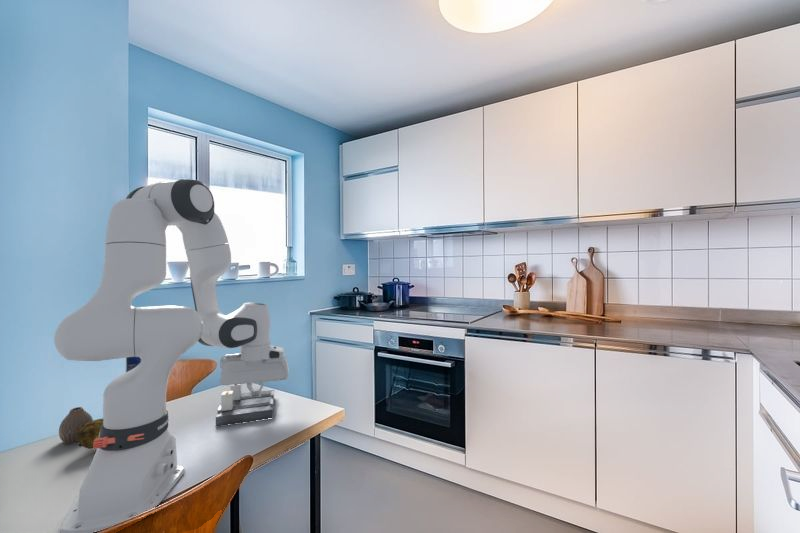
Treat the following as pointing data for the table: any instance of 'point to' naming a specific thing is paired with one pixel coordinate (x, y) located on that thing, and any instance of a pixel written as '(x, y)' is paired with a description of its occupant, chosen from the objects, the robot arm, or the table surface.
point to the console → (247, 409)
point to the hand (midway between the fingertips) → (255, 395)
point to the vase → (73, 424)
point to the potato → (89, 433)
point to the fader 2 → (236, 391)
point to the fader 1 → (227, 400)
